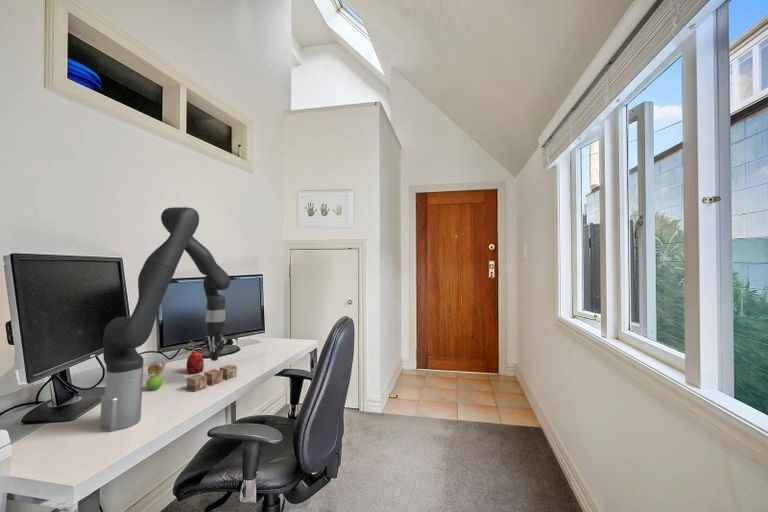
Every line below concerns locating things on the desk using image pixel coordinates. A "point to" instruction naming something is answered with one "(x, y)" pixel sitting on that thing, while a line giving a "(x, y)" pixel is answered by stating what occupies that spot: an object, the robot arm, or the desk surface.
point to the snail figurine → (155, 375)
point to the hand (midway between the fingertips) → (214, 360)
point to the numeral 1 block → (196, 382)
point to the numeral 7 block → (229, 371)
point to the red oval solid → (194, 362)
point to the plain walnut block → (214, 376)
